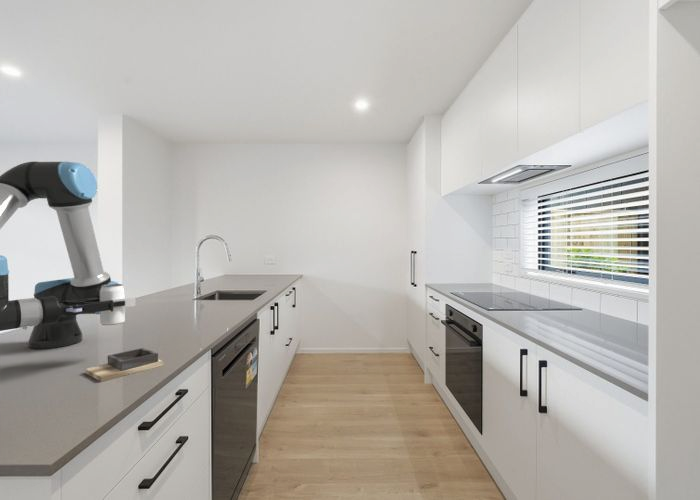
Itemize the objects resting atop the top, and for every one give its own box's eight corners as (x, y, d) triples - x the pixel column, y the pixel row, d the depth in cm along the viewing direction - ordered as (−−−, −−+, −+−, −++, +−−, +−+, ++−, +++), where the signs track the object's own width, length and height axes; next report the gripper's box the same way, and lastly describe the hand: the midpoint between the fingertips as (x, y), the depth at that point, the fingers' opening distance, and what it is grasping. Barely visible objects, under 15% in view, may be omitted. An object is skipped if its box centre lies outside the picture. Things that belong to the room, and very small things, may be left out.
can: (112, 326, 109) (112, 286, 109) (94, 325, 110) (94, 286, 110) (129, 321, 115) (129, 284, 115) (112, 320, 116) (112, 283, 116)
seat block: (85, 373, 100) (85, 359, 100) (145, 358, 113) (145, 346, 113) (101, 381, 93) (101, 367, 93) (163, 365, 106) (163, 352, 106)
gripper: (29, 320, 104) (117, 308, 122) (49, 330, 92) (144, 315, 111) (28, 294, 104) (117, 286, 122) (49, 301, 92) (143, 291, 111)
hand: (130, 300), depth 117 cm, fingers closed on can, 6 cm apart
